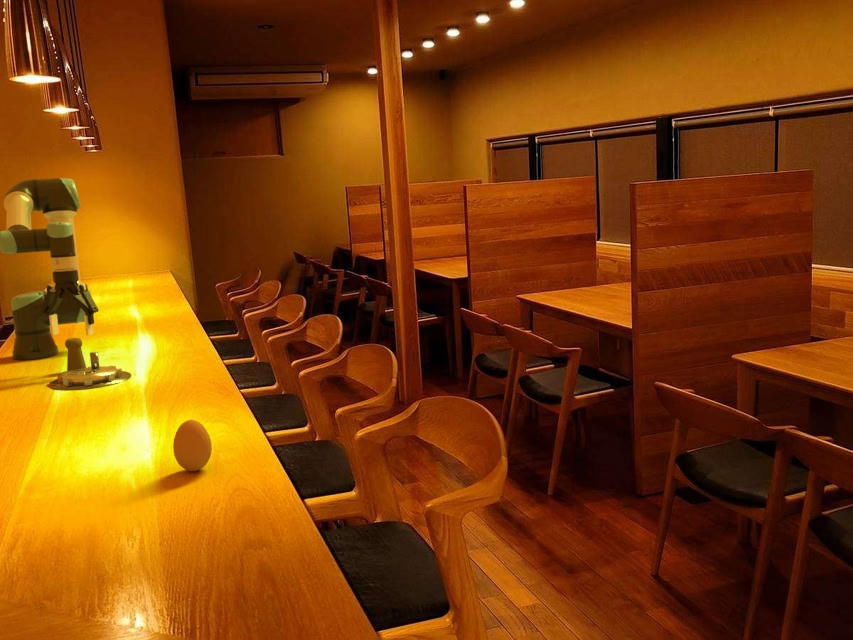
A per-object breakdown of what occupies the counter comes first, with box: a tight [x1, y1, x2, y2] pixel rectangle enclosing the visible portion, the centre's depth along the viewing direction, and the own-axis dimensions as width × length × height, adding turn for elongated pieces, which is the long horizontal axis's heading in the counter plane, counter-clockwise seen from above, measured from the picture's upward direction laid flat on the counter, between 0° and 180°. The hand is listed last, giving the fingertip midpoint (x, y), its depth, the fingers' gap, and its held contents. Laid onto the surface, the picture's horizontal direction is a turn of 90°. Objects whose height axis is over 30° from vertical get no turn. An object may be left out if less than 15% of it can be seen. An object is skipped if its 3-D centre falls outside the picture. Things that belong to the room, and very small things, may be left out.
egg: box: [172, 419, 213, 472], centre depth 164 cm, size 8×8×11 cm
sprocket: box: [56, 351, 123, 386], centre depth 249 cm, size 19×19×7 cm
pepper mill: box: [64, 337, 87, 371], centre depth 263 cm, size 6×6×11 cm
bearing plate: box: [46, 370, 132, 391], centre depth 250 cm, size 24×24×1 cm
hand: (72, 334), depth 262 cm, fingers open, 13 cm apart
